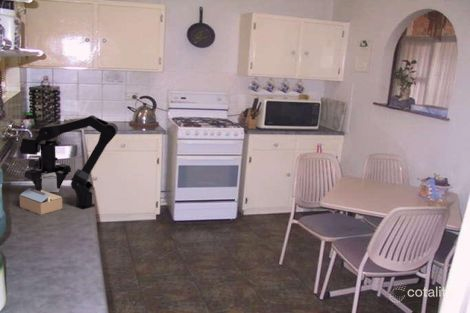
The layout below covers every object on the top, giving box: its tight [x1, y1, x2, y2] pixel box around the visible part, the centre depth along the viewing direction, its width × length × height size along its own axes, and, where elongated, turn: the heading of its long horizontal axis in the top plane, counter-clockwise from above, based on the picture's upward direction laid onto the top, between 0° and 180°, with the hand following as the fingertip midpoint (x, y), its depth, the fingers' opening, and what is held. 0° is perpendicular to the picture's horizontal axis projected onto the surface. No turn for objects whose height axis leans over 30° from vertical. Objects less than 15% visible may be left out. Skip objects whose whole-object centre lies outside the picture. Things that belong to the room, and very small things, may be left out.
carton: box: [19, 189, 63, 215], centre depth 183 cm, size 14×10×7 cm
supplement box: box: [41, 162, 61, 193], centre depth 207 cm, size 7×7×13 cm
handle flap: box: [19, 187, 50, 203], centre depth 180 cm, size 14×5×1 cm, turn 58°
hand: (48, 190), depth 188 cm, fingers open, 9 cm apart
